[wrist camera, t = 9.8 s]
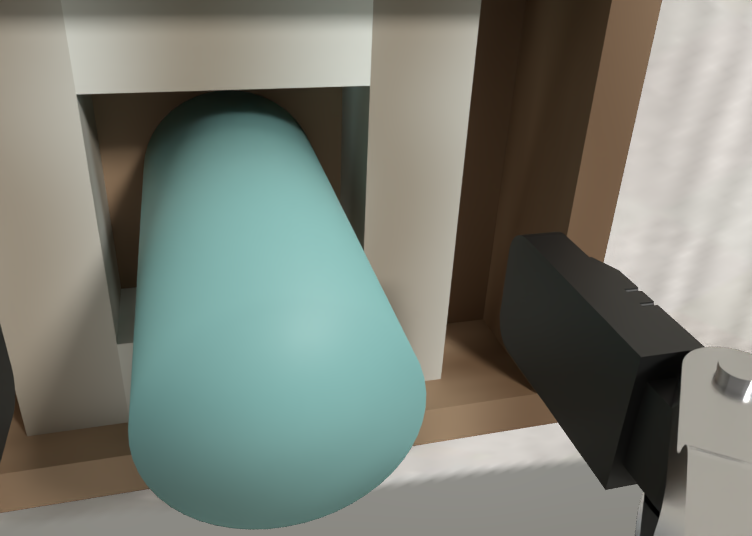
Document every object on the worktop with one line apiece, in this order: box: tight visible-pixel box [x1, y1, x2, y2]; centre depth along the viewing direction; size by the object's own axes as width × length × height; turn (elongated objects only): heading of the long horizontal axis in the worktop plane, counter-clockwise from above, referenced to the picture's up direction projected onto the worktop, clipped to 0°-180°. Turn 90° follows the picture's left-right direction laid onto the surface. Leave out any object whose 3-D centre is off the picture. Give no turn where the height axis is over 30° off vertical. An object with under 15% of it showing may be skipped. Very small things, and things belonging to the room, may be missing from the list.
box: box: [0, 0, 662, 513], centre depth 14 cm, size 15×11×4 cm
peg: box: [128, 90, 426, 529], centre depth 12 cm, size 4×4×8 cm
